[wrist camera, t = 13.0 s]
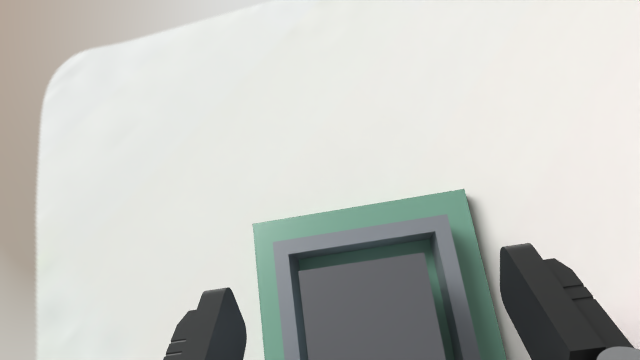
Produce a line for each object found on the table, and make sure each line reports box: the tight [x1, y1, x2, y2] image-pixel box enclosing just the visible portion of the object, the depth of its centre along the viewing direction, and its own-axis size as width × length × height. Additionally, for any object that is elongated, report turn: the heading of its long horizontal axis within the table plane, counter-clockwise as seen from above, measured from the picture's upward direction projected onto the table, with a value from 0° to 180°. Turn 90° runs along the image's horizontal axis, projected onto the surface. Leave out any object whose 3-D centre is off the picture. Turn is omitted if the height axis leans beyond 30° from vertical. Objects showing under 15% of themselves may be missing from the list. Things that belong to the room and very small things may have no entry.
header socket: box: [253, 189, 507, 360], centre depth 17 cm, size 10×10×3 cm
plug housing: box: [298, 253, 446, 360], centre depth 15 cm, size 4×4×7 cm
